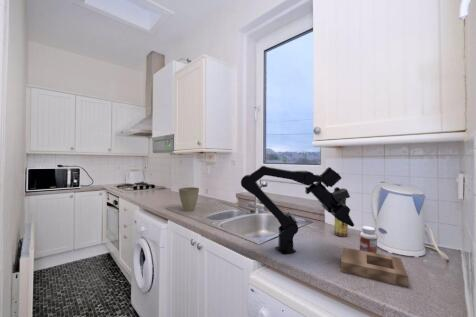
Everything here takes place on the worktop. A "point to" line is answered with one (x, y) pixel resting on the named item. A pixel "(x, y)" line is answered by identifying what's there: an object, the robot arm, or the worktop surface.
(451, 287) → the worktop surface
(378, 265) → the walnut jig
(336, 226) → the sauce bottle
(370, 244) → the pill bottle
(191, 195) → the plant pot
